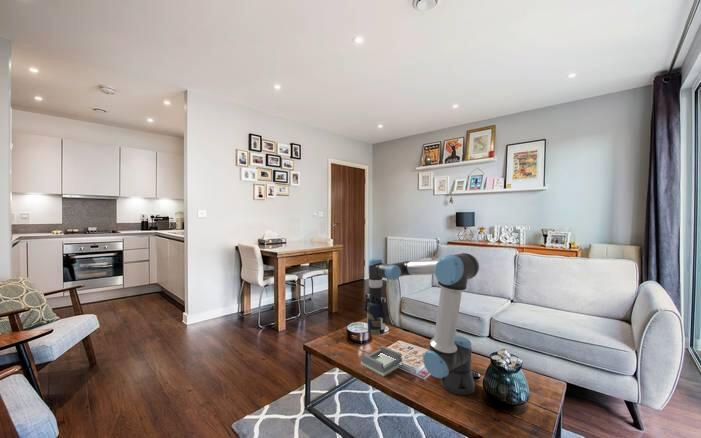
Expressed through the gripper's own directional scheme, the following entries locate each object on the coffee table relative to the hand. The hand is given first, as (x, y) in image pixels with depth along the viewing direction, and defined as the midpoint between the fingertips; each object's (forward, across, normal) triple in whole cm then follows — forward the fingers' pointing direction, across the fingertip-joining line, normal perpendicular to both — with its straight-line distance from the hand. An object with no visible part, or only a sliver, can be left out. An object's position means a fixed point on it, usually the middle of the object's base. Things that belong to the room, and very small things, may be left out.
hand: (376, 326), depth 162 cm
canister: (+4, 0, 0) cm, 4 cm away
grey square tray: (+19, -5, +2) cm, 20 cm away
